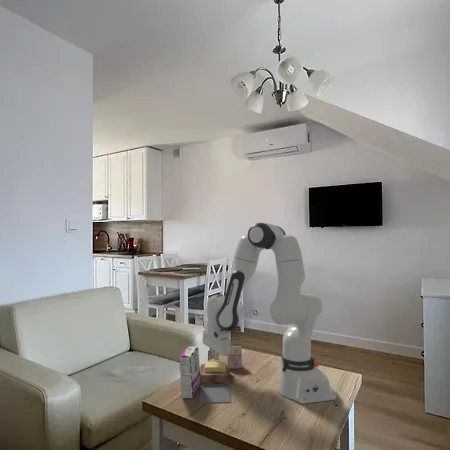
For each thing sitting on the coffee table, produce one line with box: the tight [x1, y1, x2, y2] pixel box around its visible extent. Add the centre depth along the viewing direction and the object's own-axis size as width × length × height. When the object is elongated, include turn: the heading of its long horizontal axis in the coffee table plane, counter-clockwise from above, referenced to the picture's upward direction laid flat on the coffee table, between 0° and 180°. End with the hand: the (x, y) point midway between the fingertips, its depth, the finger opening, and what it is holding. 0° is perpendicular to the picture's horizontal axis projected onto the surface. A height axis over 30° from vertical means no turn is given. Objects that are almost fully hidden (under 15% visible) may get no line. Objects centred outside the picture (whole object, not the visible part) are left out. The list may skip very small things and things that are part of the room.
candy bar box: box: [178, 345, 201, 400], centre depth 131 cm, size 11×5×16 cm, turn 168°
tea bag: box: [226, 345, 243, 370], centre depth 155 cm, size 4×7×10 cm, turn 99°
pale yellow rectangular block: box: [204, 361, 227, 372], centre depth 143 cm, size 9×6×2 cm, turn 92°
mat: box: [198, 384, 232, 404], centre depth 130 cm, size 12×14×1 cm
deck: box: [200, 363, 232, 386], centre depth 143 cm, size 13×11×4 cm
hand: (215, 359), depth 152 cm, fingers closed
